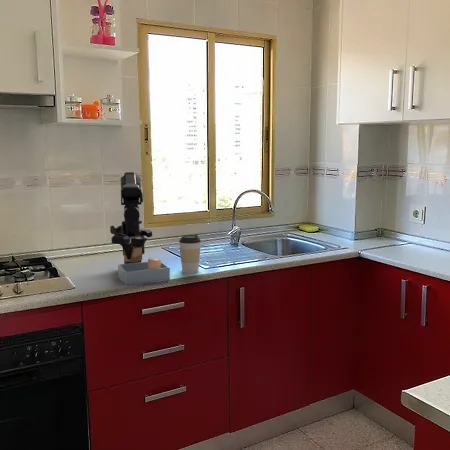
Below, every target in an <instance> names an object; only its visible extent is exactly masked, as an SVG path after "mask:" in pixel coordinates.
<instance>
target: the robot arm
mask: <svg viewBox="0 0 450 450" xmlns="http://www.w3.org/2000/svg"><path fill="white" fill-rule="evenodd" d="M143 197H144V195H143V191H142V187H141V177H140V176H139V175H137V172H135V171H129V172H128V171H126V172H124V175H123V176H121V177H120V205H121V206H123V211H124V212H123V217H124V218H123V221H122V222H121V225H117V224H113V225H110V228H109V229H110V230H109V231H110V232H109V233H110V234H112V235H113V236H112V237H111V238H110V239H111V240H110V241H111V244H115V245H120V246H121V247H122V256H124V251H125V254H126V256H127V259H130V258H131V254H132V249H133V246H134V247H142V256H143V255H144V254H145V245H146V244H145V243H146V242H147V240H148V238H151V237H153V231H152V230H151V229H149V228H141V227H140V224H142V223H143V222H142V220H140V206H141V205H142V204H143V202H144V201H143V200H144V198H143ZM146 237H147V238H146ZM139 262H142V260H140V261H137V262H127V261H124V260H123V264H129V263H139Z"/></svg>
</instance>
